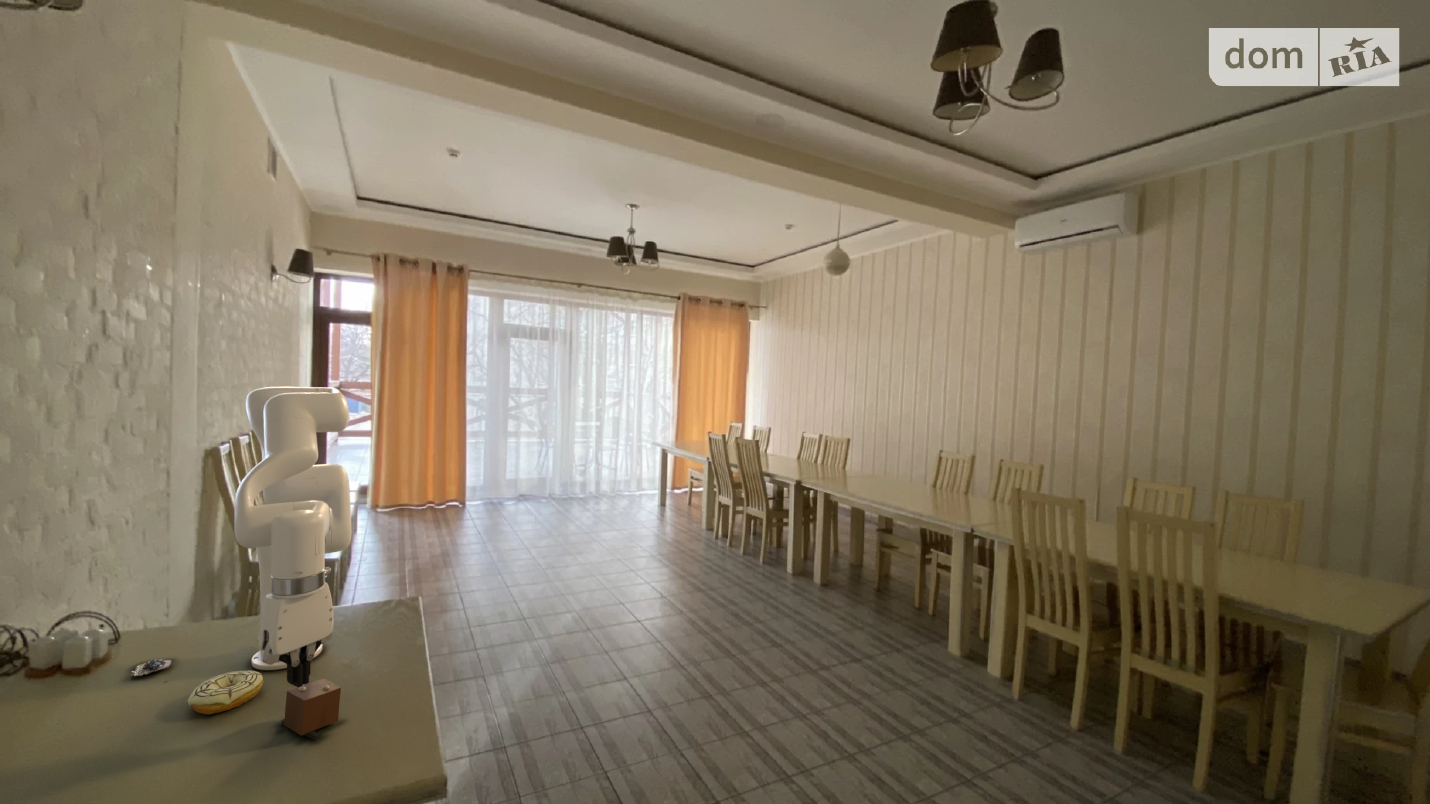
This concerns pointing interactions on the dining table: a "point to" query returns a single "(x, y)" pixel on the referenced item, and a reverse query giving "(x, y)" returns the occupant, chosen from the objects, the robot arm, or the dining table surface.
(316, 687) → the die
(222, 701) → the decorated donut
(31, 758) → the dining table surface
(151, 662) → the oyster shell
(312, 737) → the stop strip
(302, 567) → the robot arm
